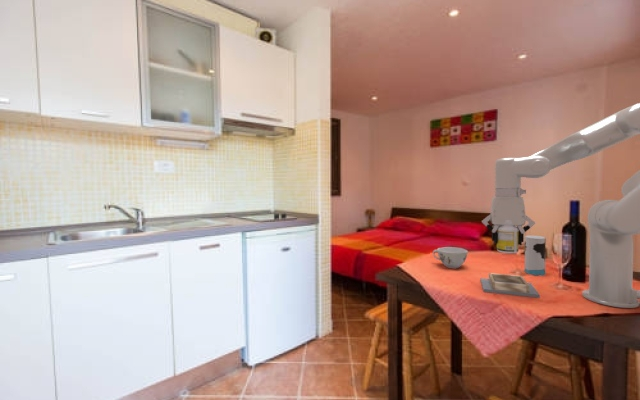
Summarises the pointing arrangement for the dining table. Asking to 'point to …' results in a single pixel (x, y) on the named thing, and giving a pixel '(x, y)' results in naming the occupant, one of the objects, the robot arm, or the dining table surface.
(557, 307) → the dining table surface
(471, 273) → the dining table surface
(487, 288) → the dock board
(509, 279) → the beige square tray
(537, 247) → the milk carton
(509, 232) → the pill bottle
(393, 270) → the dining table surface
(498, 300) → the dining table surface
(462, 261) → the teacup
